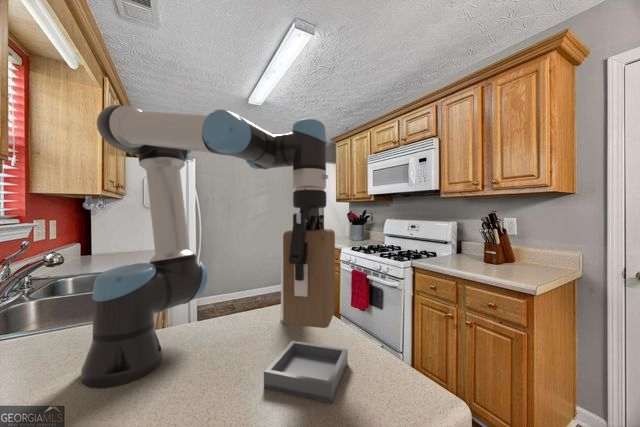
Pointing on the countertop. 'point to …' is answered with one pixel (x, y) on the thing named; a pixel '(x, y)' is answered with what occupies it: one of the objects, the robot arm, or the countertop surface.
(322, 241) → the wooden block
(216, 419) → the countertop surface
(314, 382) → the tray
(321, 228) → the robot arm
